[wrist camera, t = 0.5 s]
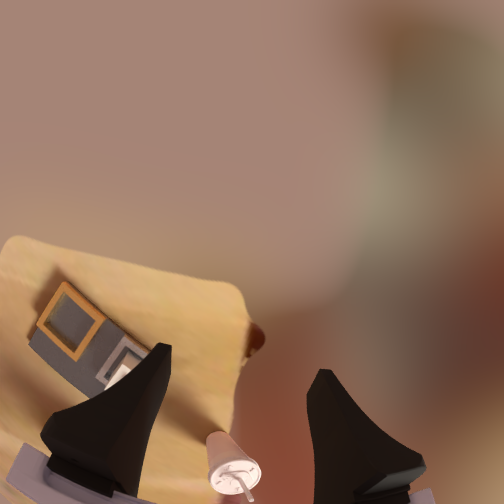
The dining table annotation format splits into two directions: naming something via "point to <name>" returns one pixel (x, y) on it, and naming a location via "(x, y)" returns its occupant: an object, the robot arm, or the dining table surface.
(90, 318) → the panel
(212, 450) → the smoothie
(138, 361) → the plug
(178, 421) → the dining table surface
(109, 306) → the dining table surface
